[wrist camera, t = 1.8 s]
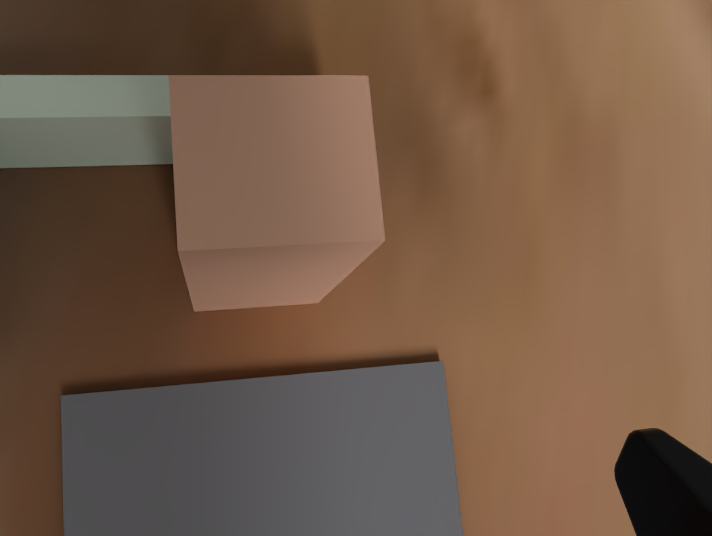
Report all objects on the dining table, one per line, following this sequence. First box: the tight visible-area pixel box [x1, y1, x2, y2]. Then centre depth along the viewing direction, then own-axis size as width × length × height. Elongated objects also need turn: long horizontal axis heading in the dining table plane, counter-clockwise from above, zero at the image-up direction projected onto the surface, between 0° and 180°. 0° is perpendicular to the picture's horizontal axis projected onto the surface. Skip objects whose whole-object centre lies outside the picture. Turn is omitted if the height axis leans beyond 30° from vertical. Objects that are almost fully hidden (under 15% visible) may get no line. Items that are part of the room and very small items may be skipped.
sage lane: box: [0, 75, 353, 168], centre depth 20 cm, size 7×12×4 cm, turn 95°
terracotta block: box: [169, 75, 385, 312], centre depth 18 cm, size 4×4×10 cm
